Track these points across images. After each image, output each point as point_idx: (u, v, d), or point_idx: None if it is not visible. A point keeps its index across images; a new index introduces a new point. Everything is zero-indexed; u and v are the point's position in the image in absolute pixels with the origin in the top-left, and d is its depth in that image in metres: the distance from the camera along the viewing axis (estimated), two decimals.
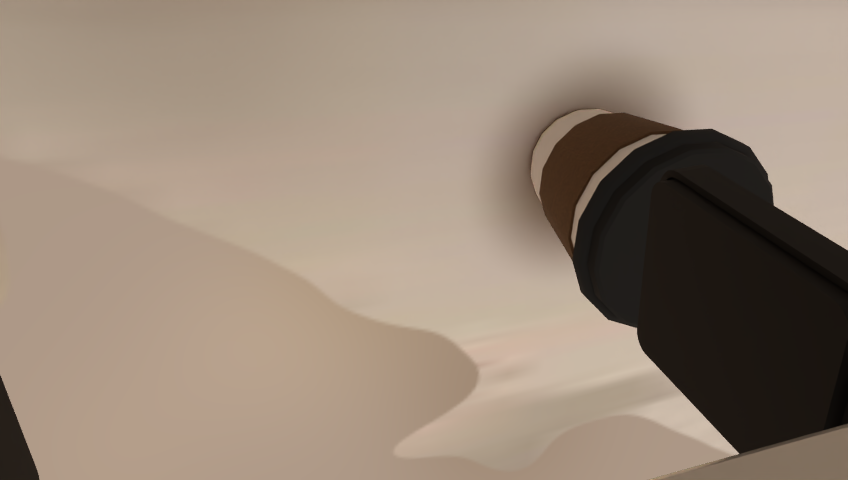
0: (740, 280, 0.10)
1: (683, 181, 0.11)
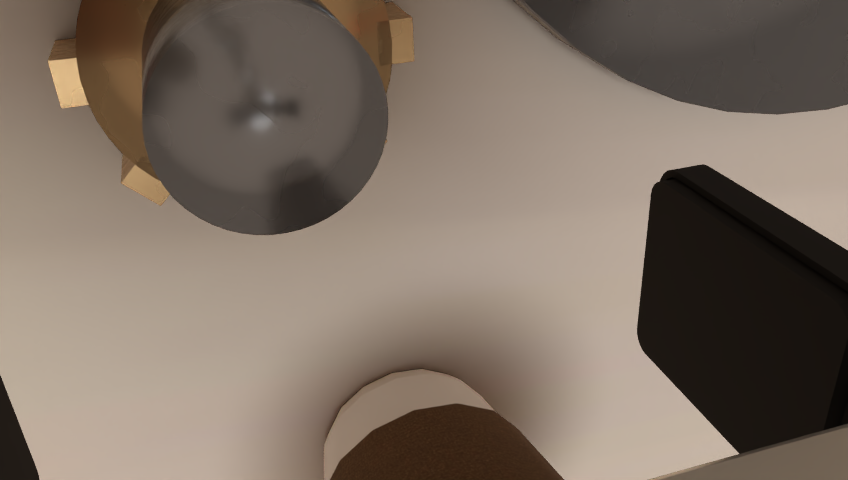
0: (740, 280, 0.10)
1: (683, 181, 0.11)
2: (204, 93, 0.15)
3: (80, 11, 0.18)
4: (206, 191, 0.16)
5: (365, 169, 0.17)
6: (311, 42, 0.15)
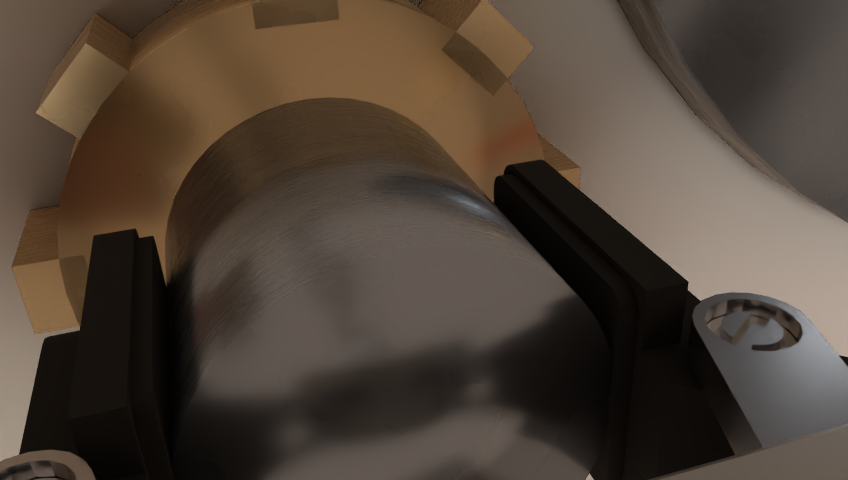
0: None
1: (517, 175, 0.11)
2: (293, 415, 0.08)
3: (65, 189, 0.11)
4: None
5: None
6: (497, 308, 0.08)
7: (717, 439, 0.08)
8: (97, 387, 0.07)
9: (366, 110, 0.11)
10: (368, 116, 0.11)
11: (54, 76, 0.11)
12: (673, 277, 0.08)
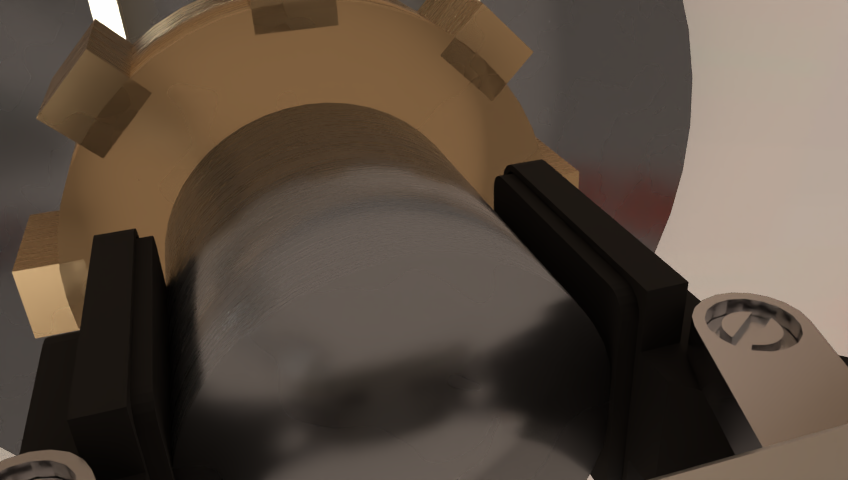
0: (553, 269, 0.10)
1: (517, 175, 0.11)
2: (292, 421, 0.08)
3: (65, 195, 0.11)
4: None
5: None
6: (495, 315, 0.08)
7: (717, 439, 0.08)
8: (97, 387, 0.07)
9: (365, 115, 0.11)
10: (367, 121, 0.11)
11: (54, 81, 0.11)
12: (673, 277, 0.08)
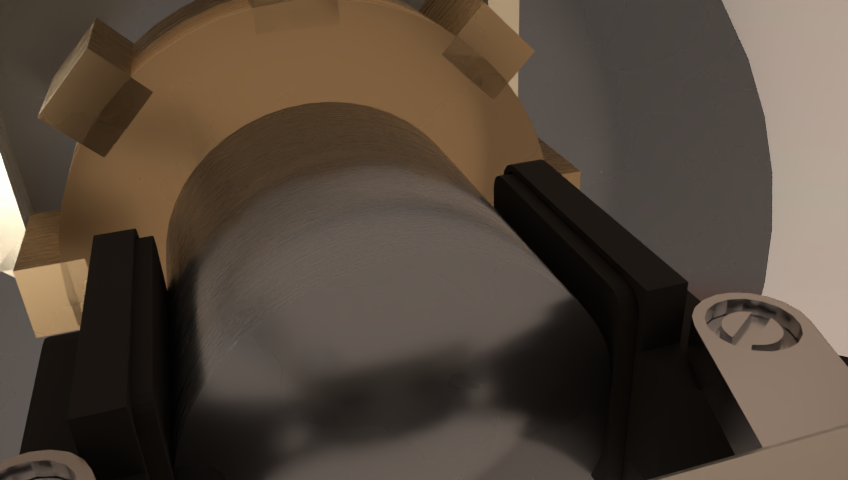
0: (553, 269, 0.10)
1: (517, 175, 0.11)
2: (293, 421, 0.08)
3: (66, 194, 0.11)
4: None
5: None
6: (498, 314, 0.08)
7: (717, 439, 0.08)
8: (97, 387, 0.07)
9: (367, 114, 0.11)
10: (369, 121, 0.11)
11: (55, 81, 0.11)
12: (673, 277, 0.08)
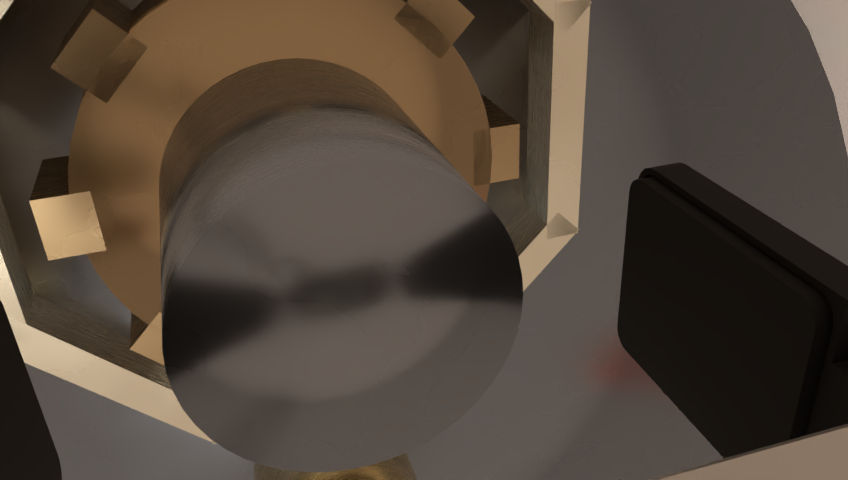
0: (713, 276, 0.10)
1: (659, 178, 0.11)
2: (258, 294, 0.10)
3: (74, 134, 0.13)
4: (256, 424, 0.11)
5: (485, 375, 0.12)
6: (420, 211, 0.10)
7: None
8: None
9: (328, 68, 0.13)
10: (329, 72, 0.13)
11: (65, 39, 0.13)
12: None
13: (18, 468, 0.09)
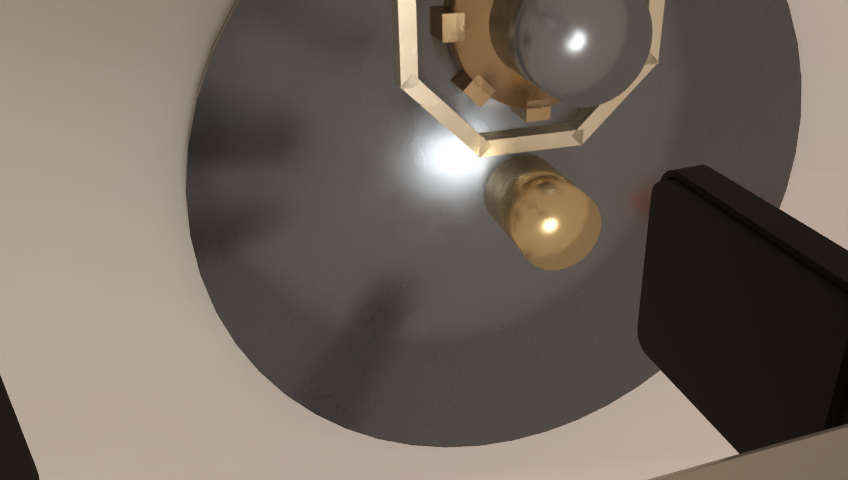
0: (740, 280, 0.10)
1: (683, 181, 0.11)
2: (566, 22, 0.29)
3: None
4: (555, 78, 0.30)
5: (635, 72, 0.31)
6: None
7: None
8: None
9: None
10: None
11: None
12: None
13: None
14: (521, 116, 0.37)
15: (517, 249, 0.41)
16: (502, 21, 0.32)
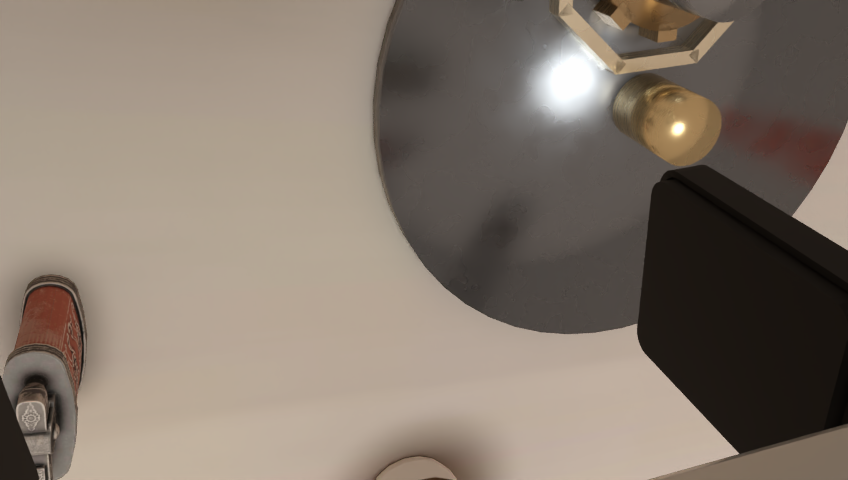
0: (740, 280, 0.10)
1: (683, 181, 0.11)
2: None
3: None
4: None
5: None
6: None
7: None
8: None
9: None
10: None
11: None
12: None
13: None
14: (651, 38, 0.44)
15: (636, 157, 0.49)
16: None
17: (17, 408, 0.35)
